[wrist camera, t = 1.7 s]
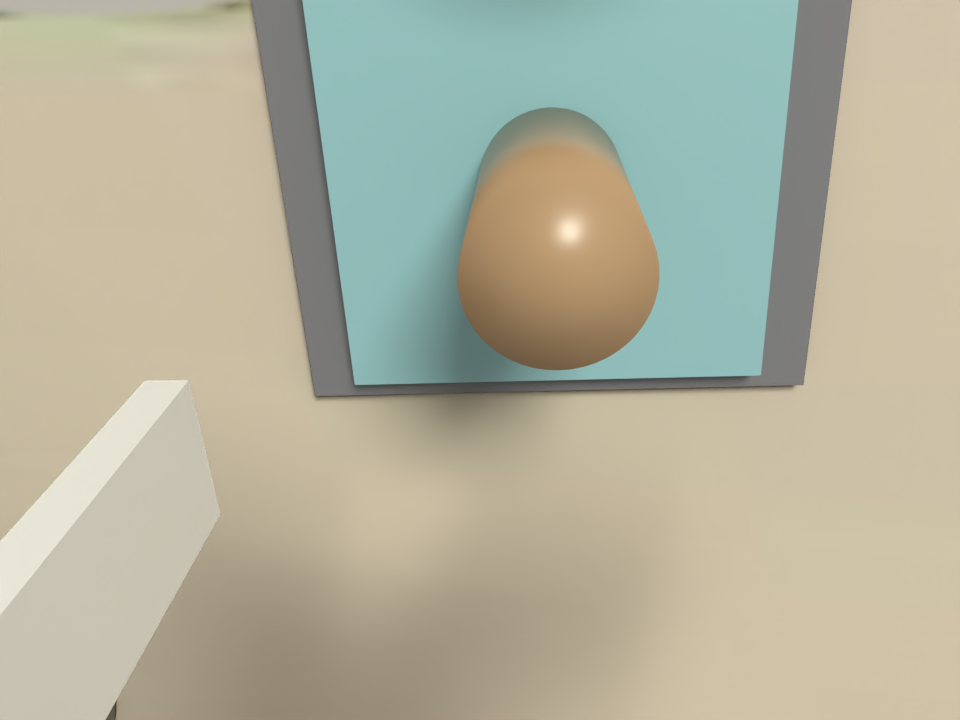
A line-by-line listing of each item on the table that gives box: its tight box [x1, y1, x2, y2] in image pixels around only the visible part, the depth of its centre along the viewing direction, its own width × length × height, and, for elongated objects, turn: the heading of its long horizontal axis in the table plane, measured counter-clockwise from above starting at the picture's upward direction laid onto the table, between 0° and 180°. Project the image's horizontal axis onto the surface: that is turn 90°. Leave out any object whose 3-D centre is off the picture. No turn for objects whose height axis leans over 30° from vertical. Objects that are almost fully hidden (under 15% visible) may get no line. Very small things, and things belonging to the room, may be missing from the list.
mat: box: [252, 0, 852, 396], centre depth 31 cm, size 20×18×1 cm
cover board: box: [302, 0, 799, 385], centre depth 26 cm, size 16×16×11 cm
